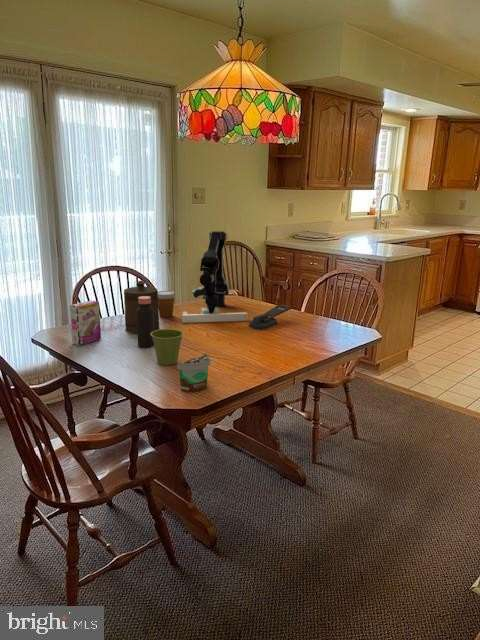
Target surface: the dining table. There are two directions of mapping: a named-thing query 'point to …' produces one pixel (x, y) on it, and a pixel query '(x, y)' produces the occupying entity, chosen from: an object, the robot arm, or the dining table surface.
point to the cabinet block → (206, 310)
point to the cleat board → (214, 317)
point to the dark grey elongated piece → (268, 318)
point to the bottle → (145, 322)
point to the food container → (194, 374)
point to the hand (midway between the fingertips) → (210, 313)
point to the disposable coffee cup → (166, 303)
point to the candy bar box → (85, 322)
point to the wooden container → (132, 305)
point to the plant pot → (167, 345)
